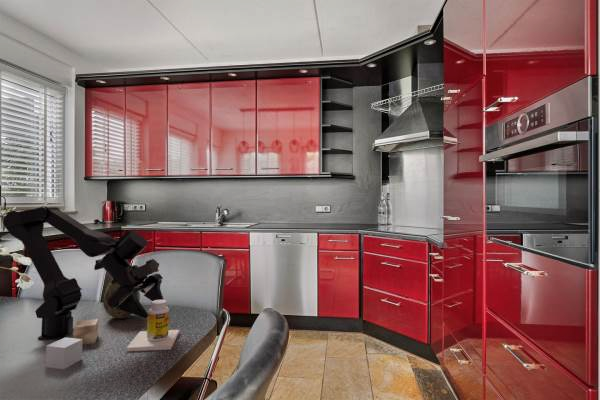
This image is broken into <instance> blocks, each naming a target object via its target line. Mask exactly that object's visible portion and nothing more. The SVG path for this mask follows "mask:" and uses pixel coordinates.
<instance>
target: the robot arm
mask: <svg viewBox="0 0 600 400" xmlns="http://www.w3.org/2000/svg"><path fill="white" fill-rule="evenodd" d="M2 221H3V222H2V224H3V226H4V228H5V229H6V230H7V232H8V233H9V234H10V235H11V236H12V237H13V238H15V239H17V240H19V241H20V242H21V243H22V244H23V246H24V248H25V251H26V252H27V254H28V257H29V258H30V260H31V262H32V264H33V266H34V267H35V270H36V271H37V273H38V275H39V277H40V279H41V281H42V283H43V292H42V299H43V303H41V305H39V306H38V308H36V310H35V315H36V318H37V319H41V334H40V335H39V336H38V337H37V340H53V339H54V340H56V339H57V340H58V339H59V340H60V339H63V338H65V337H66V336H68V335H69V334H71V333H72V332H74V317H73V316H72V313H73V312H72V311H74V310H76V309H77V306H78V304H79V303H80V301H81V298H82V295H83V294H82V291H81V290H82V288H81V287H80V285H79V283H78V281H77V278H75V277H73V278H68V277H66V276H65V275H64V273H63V272H62V270H61V267H60V265H59V264H58V262H57V260H56V257H55V256H54V254H53V253H52V250H51V249H50V247H49V245H48V243H47V241H46V239H45V237H44V235H43V234H44V233H43V232H44V228H45V224H46V223H47V224H49V225H50V226H52V227H53V228H55V229H56V230H58V231H59V232H61V233H63V234H64V235H66V236H67V237H69V238H70V239H72V240H73V241H74V242H75V243H76V244H77V248H78V249H79V250H80V251H82V253H83V254H85V255H86V256H87V257H89V258H95V257H99V256H103V257H102V258H100V259H95V265H94V268H93V270H95V271H97V270H101V269H104V271H105V272H107V274H108V275H109V276H110V277H111V280H112V279H113V280H112V281H111V280H110V281H111V283H112V284H116V283H117V284H118V286H119V288H118V289H117V290H116V291H115V292H114V293H113V294H112V295H111V296H110V297H109V298H107V305H108V306H109V307H110V308H111V309H113V308H115V307H116V308H115V309H116V310H118V309H119V310H123V311H126V312H129V313H132V314H131V315H135V316H138V317H140V318H142V319H148V316H149V315H148V311H147V310H146V308H144V306H143V305H142V303H141V302H140V301H139V300H138V298H137V292H140V293H142V294H143V296H144V297H146V298H147V299H148V300H150V301H151V302H152V301H154V300H165V299H164V296H163V293H162V291H161V284H162V283H163V279H164V277H163V276H162V275H161V274H160V273H158V272H159V271H160V270H159V266H160V263H159V262H158V261H157V260H156V259H154V258H151V259H149V260H146V261H145V264H143V265H140V266H138V265H136V264H134V265H132V264H131V263H130V262H129V261H128V260H130V261H131V260H134V259H135V258H136V257H137V256H138V255H139V254H140V253H141V252H142V251H143V250H145V248H147V246H148V240H147V239H146V237H145V236H142V235H141V234H139V233H138V232H135V231H134V229H128V230H126V231H125V232H124V233H123V235H122V236H121V237H120V238H118V239H116V238H114V237H113V236H112V235H110V234H106V233H104V232H101V231H98V230H94V229H91V228H89V227H87V226H86V225H84V224H82V223H81V222H80V221H77V220H76V219H75V218H73V217H71V216H70V215H69V214H67V213H65V212H63V211H62V210H61V209H60V208H59V207H57V206H54V205H53V206H51V205H47V206H44V205H43V206H39V207H36V208H32V209H27V210H26V209H25V210H10V211H8V212H7V213H6V215H5V216H4V218H3V220H2Z"/></svg>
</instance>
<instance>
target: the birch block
mask: <svg viewBox="0 0 600 400" xmlns="http://www.w3.org/2000/svg"><path fill="white" fill-rule="evenodd" d="M73 328H74V330H73V338H76V339H82V345H88V344H96V341H97V338H98V331H99V330H98V329H99V318H95V319H87V320H86V319H85V320H77V321H76V323H75V325H73Z"/></svg>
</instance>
